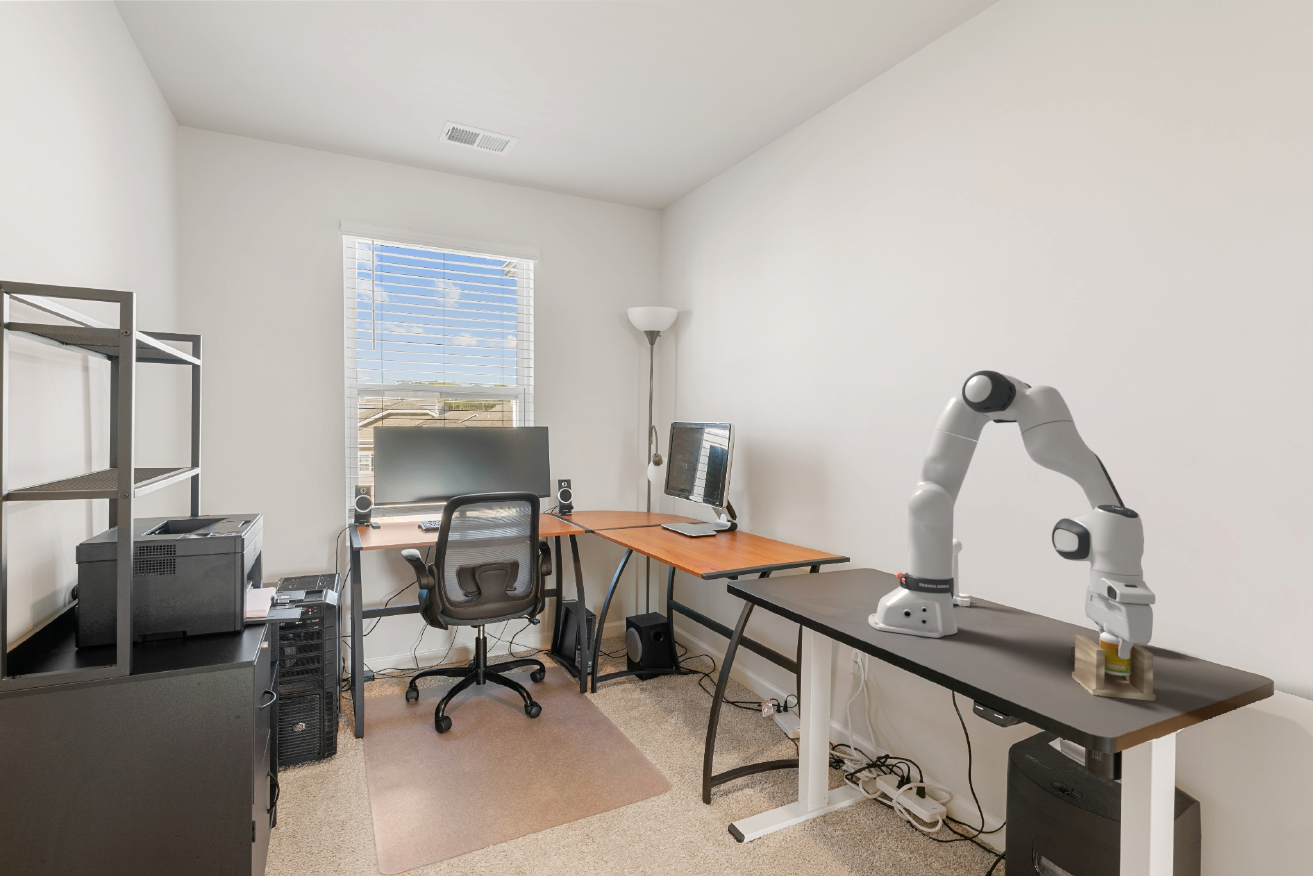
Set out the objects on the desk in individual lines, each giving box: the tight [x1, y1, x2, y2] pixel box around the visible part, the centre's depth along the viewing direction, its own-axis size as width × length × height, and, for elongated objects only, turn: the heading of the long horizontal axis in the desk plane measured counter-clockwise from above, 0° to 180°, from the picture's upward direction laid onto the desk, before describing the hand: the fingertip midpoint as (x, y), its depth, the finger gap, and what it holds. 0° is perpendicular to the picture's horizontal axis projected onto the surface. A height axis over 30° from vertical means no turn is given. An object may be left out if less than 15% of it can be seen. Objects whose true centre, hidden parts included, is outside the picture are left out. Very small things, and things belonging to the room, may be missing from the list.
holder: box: [1071, 634, 1156, 702], centre depth 133 cm, size 11×10×9 cm
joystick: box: [952, 538, 971, 607], centre depth 199 cm, size 11×8×20 cm
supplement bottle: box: [1099, 623, 1132, 676], centre depth 132 cm, size 5×5×10 cm
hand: (1114, 652), depth 132 cm, fingers closed on supplement bottle, 5 cm apart
